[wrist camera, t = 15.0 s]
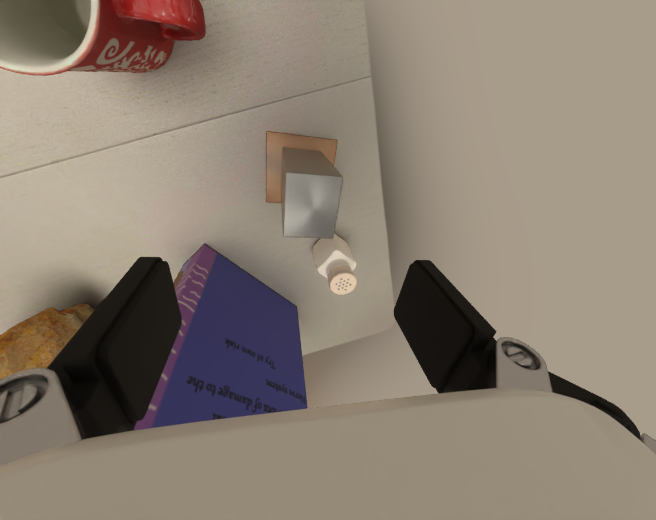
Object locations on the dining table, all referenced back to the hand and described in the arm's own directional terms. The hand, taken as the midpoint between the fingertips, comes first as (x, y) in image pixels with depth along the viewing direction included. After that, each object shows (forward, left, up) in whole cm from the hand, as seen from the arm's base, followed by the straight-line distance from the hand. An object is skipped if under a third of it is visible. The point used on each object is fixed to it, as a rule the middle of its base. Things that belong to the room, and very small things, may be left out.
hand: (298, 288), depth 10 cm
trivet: (+1, +2, -24) cm, 24 cm away
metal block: (+1, +2, -23) cm, 24 cm away
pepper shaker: (+11, +7, -24) cm, 27 cm away
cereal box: (+19, -5, -24) cm, 31 cm away
